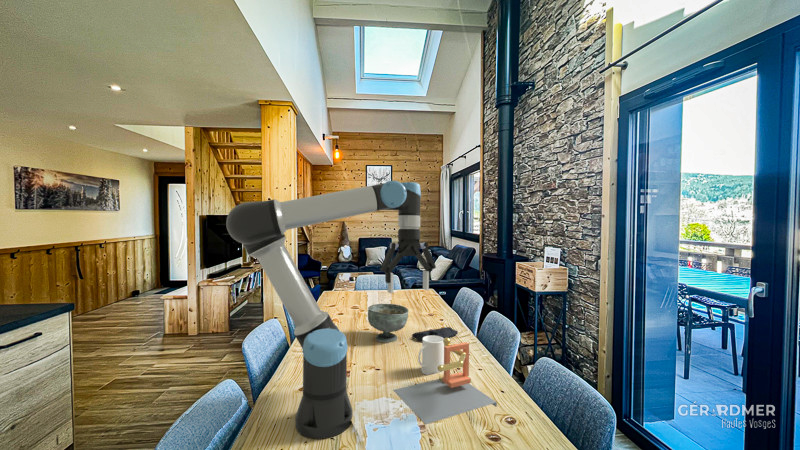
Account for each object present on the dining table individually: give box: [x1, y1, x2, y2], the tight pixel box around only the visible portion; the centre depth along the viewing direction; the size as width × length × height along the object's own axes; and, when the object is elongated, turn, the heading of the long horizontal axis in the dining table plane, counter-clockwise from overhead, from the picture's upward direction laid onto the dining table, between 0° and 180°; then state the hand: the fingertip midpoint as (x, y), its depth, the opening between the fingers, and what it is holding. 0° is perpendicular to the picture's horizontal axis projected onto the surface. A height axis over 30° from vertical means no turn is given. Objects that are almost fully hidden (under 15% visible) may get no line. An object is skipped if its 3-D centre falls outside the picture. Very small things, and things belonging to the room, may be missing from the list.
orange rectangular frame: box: [442, 342, 472, 388], centre depth 105 cm, size 5×9×12 cm, turn 117°
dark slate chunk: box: [411, 326, 459, 343], centre depth 158 cm, size 15×22×5 cm
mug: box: [417, 335, 444, 376], centre depth 119 cm, size 12×8×12 cm
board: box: [393, 378, 498, 425], centre depth 100 cm, size 25×20×1 cm
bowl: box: [367, 303, 409, 344], centre depth 154 cm, size 20×19×15 cm
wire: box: [438, 338, 466, 384], centre depth 102 cm, size 15×17×14 cm
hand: (408, 291), depth 109 cm, fingers open, 13 cm apart
